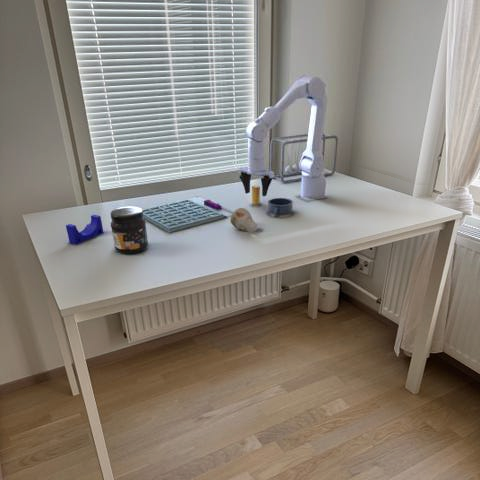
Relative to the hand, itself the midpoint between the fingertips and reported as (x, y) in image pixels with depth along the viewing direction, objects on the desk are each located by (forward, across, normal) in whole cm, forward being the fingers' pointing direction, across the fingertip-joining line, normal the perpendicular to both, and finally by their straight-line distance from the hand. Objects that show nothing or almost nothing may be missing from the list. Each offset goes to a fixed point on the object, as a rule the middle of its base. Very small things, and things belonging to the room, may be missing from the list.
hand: (256, 194), depth 177 cm
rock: (+5, +11, -25) cm, 28 cm away
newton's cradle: (+5, -3, +48) cm, 48 cm away
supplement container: (+4, -12, -57) cm, 58 cm away
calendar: (+4, -18, -22) cm, 29 cm away
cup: (+4, +13, -5) cm, 15 cm away
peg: (+4, 0, 0) cm, 4 cm away
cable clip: (+4, -32, -58) cm, 66 cm away
